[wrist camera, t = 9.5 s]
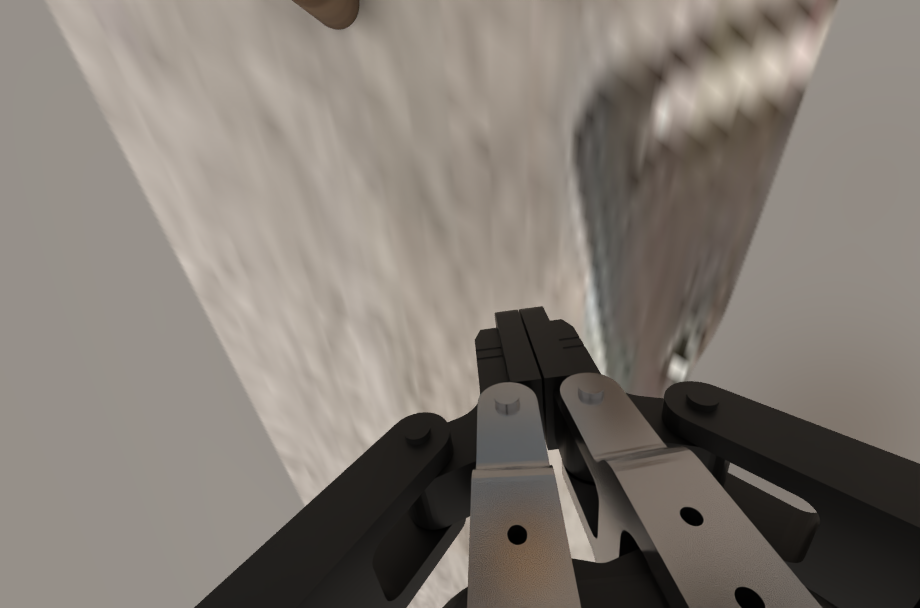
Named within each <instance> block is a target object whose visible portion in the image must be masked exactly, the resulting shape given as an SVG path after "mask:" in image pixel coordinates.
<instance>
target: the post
mask: <svg viewBox="0 0 920 608" xmlns="http://www.w3.org/2000/svg"><path fill="white" fill-rule="evenodd" d="M292 1H294V2H295V3H296V4H298V5H299V6H300V7H302V8H303V9H304V10H306V11H307V12H308V13H310V14H311V15H312V16H314V17H315V18H316V19H318V20H319V21H320V22H322V23H323V24H324V25H326V26H328V27H330V28H332V29H344V28H346V27H348V26H350V25H351V24H352V23H353V22H354V20H355V19H356V17H357V14H358V10H359V0H292Z"/></svg>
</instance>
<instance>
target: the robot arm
mask: <svg viewBox="0 0 920 608" xmlns="http://www.w3.org/2000/svg"><path fill="white" fill-rule="evenodd" d="M495 322H496V328H492V329H484V330H480V332H479V333H478V335H477V337H476V339H475V346H476V356H477V366H478V376H479V385H480V396H479V399H478V403H477V405H476V406H475V407H474V408H473V409H472V410H471V411H470V412H469V413H468V414H466V415H464V416H462V417H460V418H458V419H455V420H453V421H450V422H446V420H445V419H444V418H443V417H441V416H439V415H437V414H434V413H426V412H424V413H417V414H413V415H410V416H408V417H405V418H404V419H402V420H400V421H399V422H398V423H397V424H396V425H394V426H393V427H392V428H391V429H390V430H389V431H388V432H387V433H386V434H385V435H383V436H382V437H381V438H380V439H379V440H378V441H377V442H376V443H375V444H374V445H372V446H371V447H370V448H369V449H368V450H367V451H366V452H365V453H364V454H363V455H361V456H360V457H359V458H358V459H357V460H356V461H355V462H354V463H353V464H352V465H350V466H349V467H348V468H347V469H346V470H345V471H344V472H343V473H342V474H341V475H339V476H338V477H337V478H336V479H335V480H334V481H333V482H332V483H331V484H330V485H328V486H327V487H326V488H325V489H324V490H323V491H322V492H321V493H320V494H319V495H317V496H316V497H315V498H314V499H313V500H312V501H311V502H310V503H309V504H308V505H306V506H305V507H304V508H303V509H302V510H301V511H300V512H299V513H298V514H297V515H296V516H294V517H293V518H292V519H291V520H290V521H289V522H288V523H287V524H286V525H285V526H283V527H282V528H281V529H280V530H279V531H278V532H277V533H276V534H275V535H273V536H272V537H271V538H270V539H269V540H268V541H267V542H266V543H265V544H264V545H263V546H261V547H260V548H259V549H258V550H257V551H256V552H255V553H254V554H253V555H252V556H251V557H249V559H247V560H246V561H245V562H244V563H243V564H242V565H241V566H239V567H238V568H237V569H236V570H235V571H234V572H233V573H232V574H231V575H230V576H228V577H227V578H226V579H225V580H224V581H223V582H222V583H221V584H220V585H219V586H217V587H216V588H215V589H214V590H213V591H212V592H211V593H210V594H209V595H208V596H206V597H205V598H204V599H203V600H202V601H201V602H200V603H199V604H198V605H197V606H195V607H194V608H406V607H407V606H408V605H409V603H410V602H411V600H412V599H413V598H414V596H415V595H416V593H417V592H418V591H419V589H420V588H421V586H422V585H423V583H424V582H425V581H426V579H427V578H428V576H429V575H430V574H431V572H432V571H433V569H434V568H435V566H436V565H437V564H438V562H439V561H440V559H441V558H442V557H443V555H444V554H445V552H446V551H447V549H448V548H449V547H450V545H451V544H452V542H453V541H454V540H455V538H456V537H457V535H458V534H459V532H460V531H461V530H462V528H463V526H464V524H465V521H466V518H467V517H469V516H470V538H469V568H468V587H467V588H465V589H463V590H462V591H461V592H459V593H458V594H457V595H455V596H454V597H453V598H452V599H450V600H449V601H448V603H447V604H446V605H445V606H444V607H443V608H920V464H919V463H916V462H914V461H911V460H908V459H905V458H903V457H900V456H898V455H895V454H893V453H890V452H887V451H884V450H882V449H879V448H877V447H874V446H871V445H868V444H866V443H863V442H861V441H858V440H856V439H853V438H850V437H848V436H845V435H842V434H840V433H837V432H835V431H832V430H829V429H826V428H824V427H821V426H819V425H816V424H814V423H811V422H808V421H805V420H803V419H800V418H797V417H795V416H792V415H789V414H787V413H785V412H782V411H779V410H777V409H774V408H771V407H769V406H766V405H763V404H761V403H758V402H755V401H753V400H750V399H748V398H745V397H742V396H740V395H737V394H734V393H732V392H729V391H727V390H724V389H721V388H719V387H716V386H713V385H710V384H706V383H702V382H693V381H687V382H679V383H676V384H673V385H671V386H670V387H669V388H667V390H666V391H665V394H664V398H654V397H644V396H636V395H631V394H628V393H625V392H624V390H623V389H622V388H621V386H620V385H619V384H618V383H617V382H616V381H614V380H613V379H611V378H609V377H607V376H605V375H601V373H600V372H599V370H598V368H597V366H596V365H595V363H594V361H593V360H592V358H591V356H590V354H589V353H588V351H587V349H586V348H585V347H584V344H583V342H582V341H581V339H579V336H578V334H577V332H576V330H575V329H574V327H573V326H571V325H570V324H568V323H567V322H565V321H564V320H562V319H560V320H553V321H550V320H549V318H548V316H547V314H546V312H545V310H544V308H543V307H542V306H541V307H533V308H526V309H519V312H518V310H511V311H503V312H496V313H495ZM545 442H546V443H545ZM546 445H547V448H548V450H554V449H559V452H560V455H561V458H562V474H563V478H564V480H565V483H566V485H567V488H568V490H569V493H570V495H571V498H572V500H573V503H574V505H575V508H576V510H577V513H578V515H579V518H580V520H581V523H582V525H583V528H584V530H585V533H586V535H587V538H588V540H589V543H590V545H591V548H592V551H593V554H594V558H595V562H590V561H584V560H578V559H572V558H571V554H570V549H569V544H568V539H567V534H566V528H565V523H564V518H563V513H562V508H561V503H560V498H559V493H558V488H557V483H556V478H555V473H554V469H553V466H552V465H550V464H549V459H548V454H547V449H546ZM730 462H731V463H733V464H735V465H737V466H739V467H741V468H743V469H745V470H747V471H749V472H751V473H753V474H755V475H757V476H759V477H761V478H763V479H765V480H767V481H769V482H771V483H773V484H775V485H777V486H779V487H781V488H783V489H785V490H787V491H789V492H791V493H793V494H795V495H797V496H799V497H800V498H802V499H804V500H805V501H807V502H808V503H809V504H810V505H811V506H812V507H813V508H814V509H815V510H816V511H817V513H809V512H805V511H802V510H799V509H797V508H795V507H793V506H791V505H789V504H787V503H785V502H783V501H781V500H780V499H778V498H776V497H774V496H772V495H770V494H768V493H766V492H764V491H762V490H760V489H758V488H757V487H755V486H753V485H751V484H749V483H747V482H745V481H743V480H741V479H739V478H737V477H735V476H733V475H731V474H729V473H728V468H729V465H730Z"/></svg>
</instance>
